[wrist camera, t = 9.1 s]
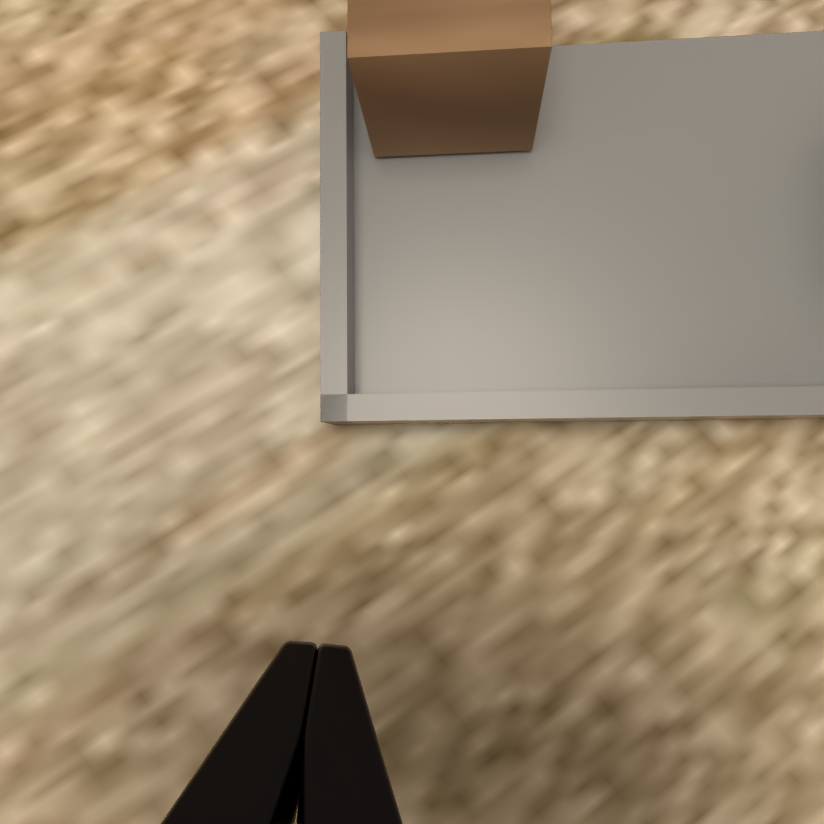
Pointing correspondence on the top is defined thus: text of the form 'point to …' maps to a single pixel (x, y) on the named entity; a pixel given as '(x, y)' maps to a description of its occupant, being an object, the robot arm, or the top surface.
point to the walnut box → (449, 73)
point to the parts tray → (586, 246)
